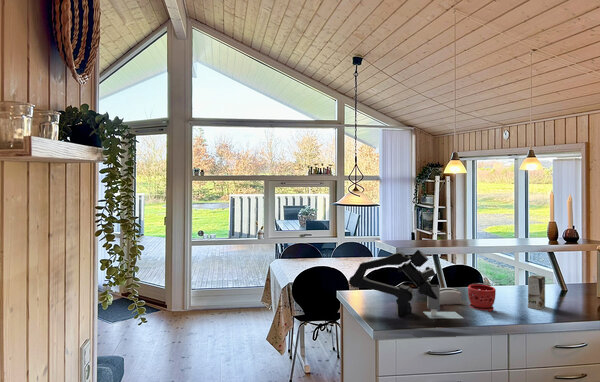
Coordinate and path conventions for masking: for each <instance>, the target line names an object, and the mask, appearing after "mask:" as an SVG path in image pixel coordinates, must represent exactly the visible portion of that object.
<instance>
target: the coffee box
mask: <svg viewBox="0 0 600 382" xmlns="http://www.w3.org/2000/svg"><path fill="white" fill-rule="evenodd" d="M527 282H528V283H527V307H528V308H529V309H535V310H539V309H540V311H541V310H542V309H544V308H545V307H546V276H543V275H530V276H528V277H527ZM543 307H544V308H543Z"/></svg>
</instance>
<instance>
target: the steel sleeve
mask: <svg viewBox="0 0 600 382" xmlns="http://www.w3.org/2000/svg"><path fill="white" fill-rule="evenodd" d="M431 289H432V291H433V292H434V294H435V295H436V296H437V299H436V300H435V299H433V298H431V297H429V296H427V303H426V304H427V309H428V310H431V309H436V311H439V310H440V304H439V298H440V289H441V287H440V285H439V284H431Z"/></svg>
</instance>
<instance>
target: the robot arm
mask: <svg viewBox="0 0 600 382" xmlns="http://www.w3.org/2000/svg"><path fill="white" fill-rule="evenodd" d="M428 261H429V257H428V256H427V255H426V254H425V253H423V251H421V250H420V249H417V250H416V251H415V252H414V253H413V254H412V255H408V254H405V253H404V252H402V251H398V252H397V251H396V252H395V253H393V254H390V255H388V256H386V257H381V258H377V259H373V260H370V261H363V262H361V263H359V266H358V268H357V269H356V271H355V272H354V274H353V275H352V276H350V278H349V281H348V282H349V284H350V286H351V287H352V288H360V289H364V288H367V289H369V290H370V289H371V290H373V291H378V292H381V293H384V294H388V295H391V296H394V297H395V298H397V299H395V302H396V305H395V307H396V312H395V315H396V316H397V318H405V317H406V315H410V314H412V312H413V311H412V310H413V308H412V305H411V301H412V300H413V299H414V296H415V291H414V289H413V288H412V287H410V285H405V284H403V283H402V284H400V285H399V286H394V285H390V284H387V283H383V282H379V281H375V280H373V279H372V280H371V279H369V278H367V277H366V276H365V274H366V273H367V270H372V269H377V268H379V267H385V266H397V269H398V270H397V272H398V273H399V274H400V273H401V272H403V273H404V274H405V275H406V276H407V277H408V278H409V280H410V281H411V282H413V284H415V286H416V287H417V292H418V293H419V294H420V295H425V296H426V297H428V296H429V297H431V298H433V299H435V300H436V299H437V296H436V295H435V294H434V292H433V291H432V289H431V285H432V284H431V280H430V278H431V277H435V276H436V272H435V270H434V268H433V267H430V266H426V267H425V268H424V269H425V270H423V271H421V270H419V269H418V268H421V267H422V266H423V265H424V264H425V263H427V262H428Z"/></svg>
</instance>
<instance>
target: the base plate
mask: <svg viewBox="0 0 600 382" xmlns="http://www.w3.org/2000/svg"><path fill="white" fill-rule="evenodd" d="M423 313H424V315H426V316H427V318H429V319H464V317H463V316H461V315H460V314H459V313H457V312H456V311H437V310H436V309H430V311H423Z"/></svg>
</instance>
